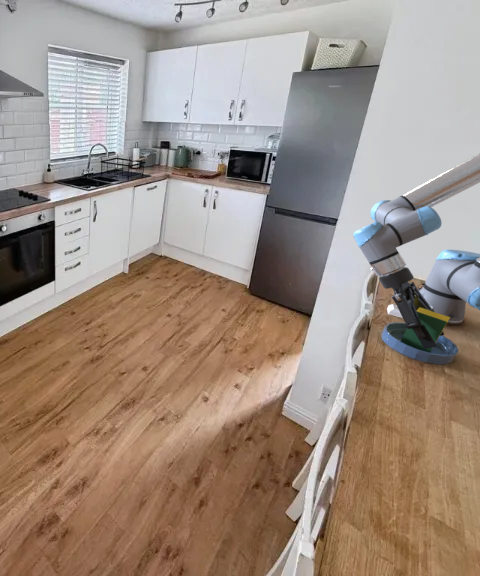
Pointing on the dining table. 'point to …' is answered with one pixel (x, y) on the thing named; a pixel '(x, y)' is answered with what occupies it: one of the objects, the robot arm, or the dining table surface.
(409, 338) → the sponge
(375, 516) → the dining table surface
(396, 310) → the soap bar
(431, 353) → the bowl
